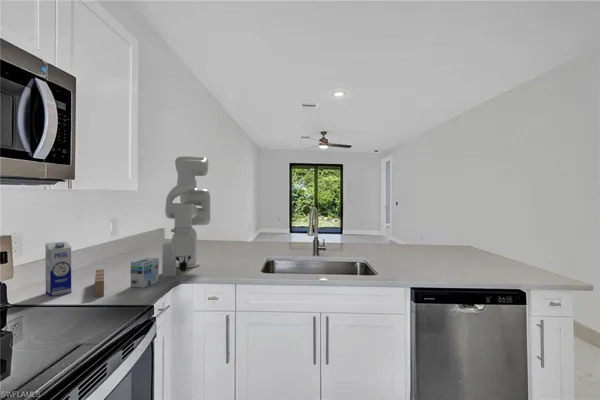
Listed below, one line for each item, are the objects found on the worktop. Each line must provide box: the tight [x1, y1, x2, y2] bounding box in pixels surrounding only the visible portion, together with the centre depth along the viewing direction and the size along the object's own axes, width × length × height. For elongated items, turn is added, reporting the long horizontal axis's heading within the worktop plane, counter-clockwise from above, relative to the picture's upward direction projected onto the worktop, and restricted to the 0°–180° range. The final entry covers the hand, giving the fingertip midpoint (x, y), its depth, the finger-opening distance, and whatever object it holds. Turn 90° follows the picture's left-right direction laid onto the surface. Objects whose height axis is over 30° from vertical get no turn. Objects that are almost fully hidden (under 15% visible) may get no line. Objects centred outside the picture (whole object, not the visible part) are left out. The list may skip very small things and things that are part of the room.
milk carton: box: [45, 240, 72, 297], centre depth 133 cm, size 7×7×20 cm
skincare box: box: [161, 241, 178, 278], centre depth 163 cm, size 8×7×16 cm
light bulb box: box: [130, 256, 160, 289], centre depth 147 cm, size 11×7×11 cm, turn 168°
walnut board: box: [94, 269, 105, 298], centre depth 138 cm, size 22×3×6 cm, turn 30°
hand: (183, 270), depth 155 cm, fingers closed
